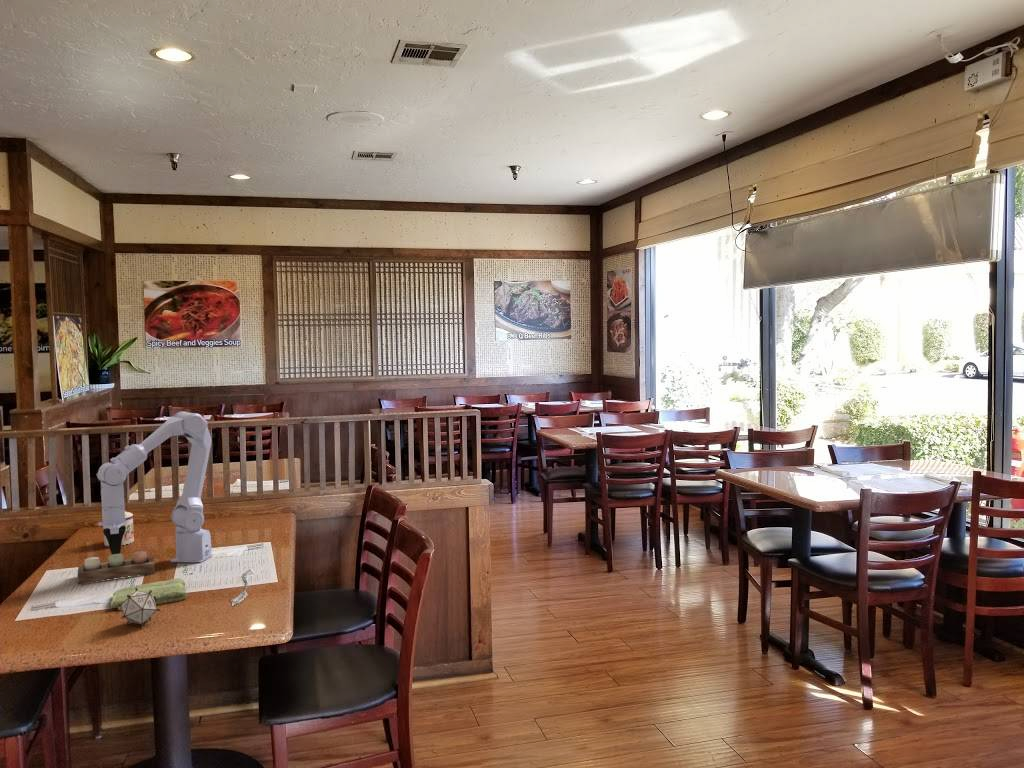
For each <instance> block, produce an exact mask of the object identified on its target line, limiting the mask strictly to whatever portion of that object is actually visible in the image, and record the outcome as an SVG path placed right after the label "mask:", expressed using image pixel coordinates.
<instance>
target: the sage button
mask: <svg viewBox="0 0 1024 768" xmlns="http://www.w3.org/2000/svg"><path fill="white" fill-rule="evenodd" d="M123 560H124V554H122V553H120V554H111V555H109V556H108V562H109V566H112V567H114V566H120V565H123V564H124V563H123Z"/></svg>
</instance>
